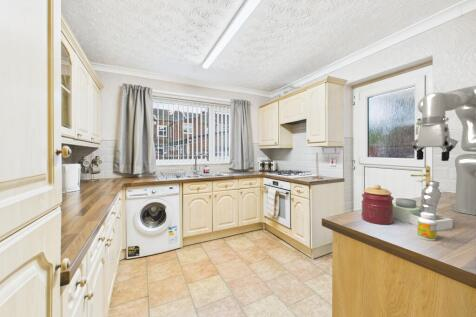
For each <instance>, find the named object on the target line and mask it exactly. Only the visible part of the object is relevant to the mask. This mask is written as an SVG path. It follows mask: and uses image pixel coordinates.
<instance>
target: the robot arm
mask: <svg viewBox="0 0 476 317" xmlns="http://www.w3.org/2000/svg"><path fill="white" fill-rule="evenodd" d="M417 110H418V112H420V113H421V115H422V116H421V125H420V126H419V130H418V135H417V138H416V139H415V140H413V141H411V143H410V144H411V146H412V148H413V149H414V151H415V152H416V160H418V161H419V160H420V161H421V160H424V152H425V151H424V149H426V148H440V149H441V150H442V152H441V156H440V157H441V159H440V160H441V162H448V161H449V159H450V152H452V150H454V149H455V148H456V146H457V145H458V143H459V140H456V139H454V138H451V134H450V128H449V124H447V123H446V122H448V121H449V120H450V119H449V117H446V112H449V111H450V112H451V111H454V112H455V114H456V117H457V118H458V119H459V121H460V123H461V126H462V133H461V142H460V143H461V144H460V148H461V149H462V151H464V152H471V153H463V154H460V155H458V156H456V157H455V158H454V166H455V173H456V178H455V179H456V180H455V198H454V200H455V203H454V204H455V205H454V206H451V207H450V209H451V211H454V212H457V213H460V214H466V215H474V216H476V85H472V86H467V87H461V88H458V89H454V90H450V91H447V92H434V93H433V92H432V93H428V94H425V95H424V96H423V97H422V98H421V99H420V100H419V101H418V104H417ZM472 152H473V153H472Z"/></svg>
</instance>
